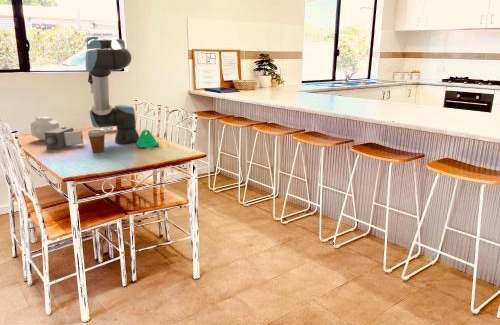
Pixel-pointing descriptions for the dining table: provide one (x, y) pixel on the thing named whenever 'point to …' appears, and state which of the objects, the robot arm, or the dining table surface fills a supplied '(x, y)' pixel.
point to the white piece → (108, 129)
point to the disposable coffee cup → (97, 140)
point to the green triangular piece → (146, 140)
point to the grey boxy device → (56, 138)
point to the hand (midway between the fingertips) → (98, 94)
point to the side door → (73, 138)
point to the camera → (42, 126)
